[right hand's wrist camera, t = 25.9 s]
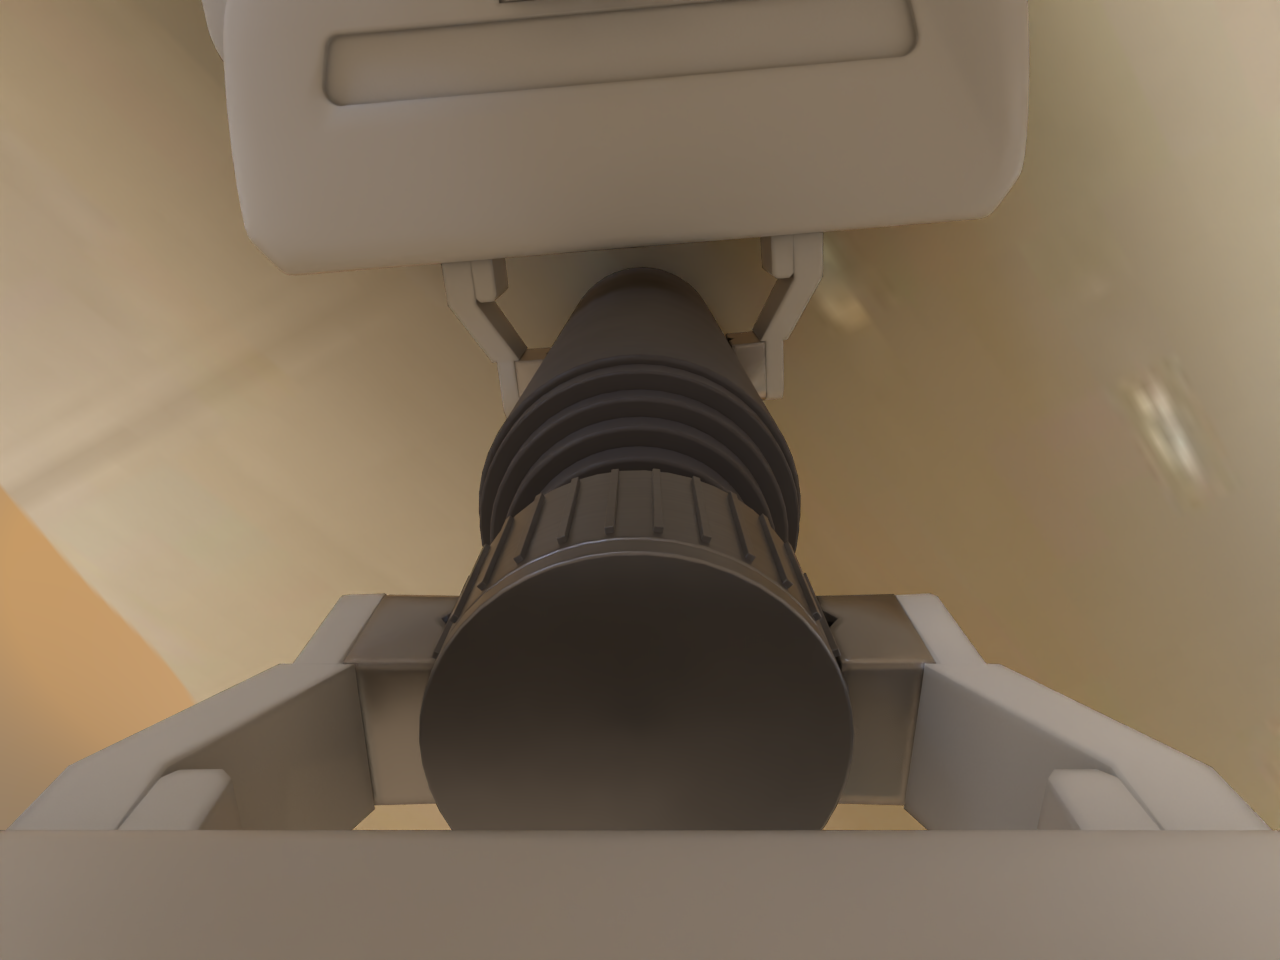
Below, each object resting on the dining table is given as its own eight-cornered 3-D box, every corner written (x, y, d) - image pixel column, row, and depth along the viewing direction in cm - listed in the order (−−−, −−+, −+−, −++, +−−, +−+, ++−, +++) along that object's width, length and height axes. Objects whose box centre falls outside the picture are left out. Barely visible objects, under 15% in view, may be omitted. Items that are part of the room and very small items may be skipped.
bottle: (671, 238, 28) (751, 357, 7) (741, 370, 30) (979, 792, 9) (540, 314, 29) (266, 620, 8) (615, 439, 30) (549, 976, 9)
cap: (887, 610, 10) (956, 726, 8) (658, 828, 11) (661, 986, 9) (613, 388, 9) (603, 449, 7) (394, 650, 10) (324, 773, 8)
